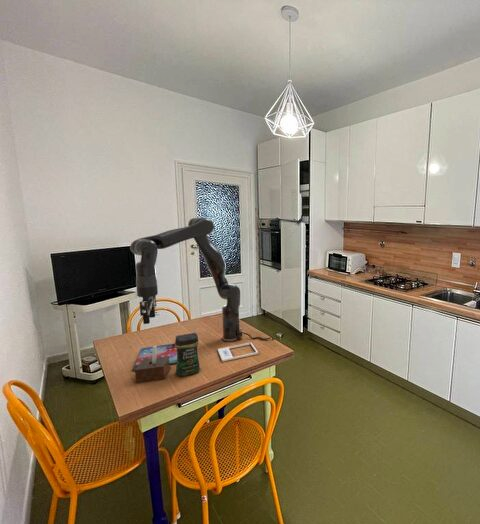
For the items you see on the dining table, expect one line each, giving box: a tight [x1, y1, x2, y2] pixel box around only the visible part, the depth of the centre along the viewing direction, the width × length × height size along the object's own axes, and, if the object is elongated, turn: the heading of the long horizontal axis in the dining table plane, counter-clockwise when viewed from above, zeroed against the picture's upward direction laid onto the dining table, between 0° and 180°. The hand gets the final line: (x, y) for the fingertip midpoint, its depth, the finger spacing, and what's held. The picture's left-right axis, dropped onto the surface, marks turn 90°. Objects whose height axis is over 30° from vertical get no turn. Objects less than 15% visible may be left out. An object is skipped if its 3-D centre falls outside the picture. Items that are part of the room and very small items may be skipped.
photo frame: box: [217, 342, 259, 363], centre depth 158 cm, size 15×1×18 cm
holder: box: [134, 356, 171, 384], centre depth 134 cm, size 11×11×6 cm
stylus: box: [152, 345, 158, 364], centre depth 133 cm, size 2×2×14 cm
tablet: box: [132, 342, 177, 372], centre depth 152 cm, size 19×25×1 cm
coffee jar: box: [174, 332, 201, 377], centre depth 136 cm, size 10×8×19 cm
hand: (149, 320), depth 130 cm, fingers open, 8 cm apart
